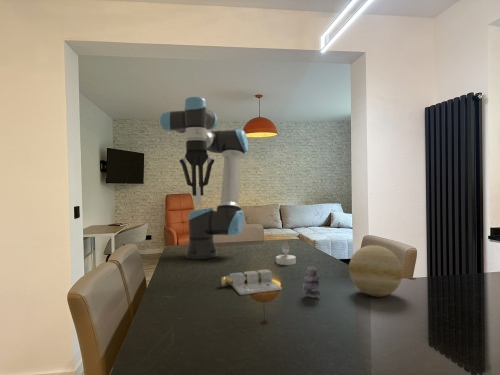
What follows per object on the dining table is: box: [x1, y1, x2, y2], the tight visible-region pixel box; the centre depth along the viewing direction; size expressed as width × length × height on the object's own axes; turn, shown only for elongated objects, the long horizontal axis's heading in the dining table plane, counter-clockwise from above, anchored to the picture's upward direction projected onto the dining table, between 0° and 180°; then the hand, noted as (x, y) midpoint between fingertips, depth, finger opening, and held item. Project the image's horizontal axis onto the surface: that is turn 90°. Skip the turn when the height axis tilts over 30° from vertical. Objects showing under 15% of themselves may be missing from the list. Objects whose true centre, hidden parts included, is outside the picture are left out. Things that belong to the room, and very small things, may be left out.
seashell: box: [302, 264, 321, 298], centre depth 95 cm, size 5×5×10 cm
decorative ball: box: [348, 244, 403, 297], centre depth 97 cm, size 15×15×15 cm
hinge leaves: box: [223, 269, 282, 296], centre depth 110 cm, size 20×14×4 cm
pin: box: [220, 274, 261, 286], centre depth 110 cm, size 3×16×3 cm, turn 109°
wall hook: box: [275, 242, 297, 266], centre depth 140 cm, size 9×10×10 cm
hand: (198, 204), depth 118 cm, fingers closed
